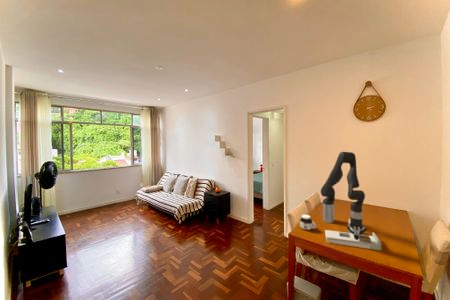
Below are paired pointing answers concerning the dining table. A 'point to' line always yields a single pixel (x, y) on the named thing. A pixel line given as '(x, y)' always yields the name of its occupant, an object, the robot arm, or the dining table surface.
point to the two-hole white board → (352, 240)
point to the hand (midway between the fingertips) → (356, 239)
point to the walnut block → (364, 238)
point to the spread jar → (307, 223)
